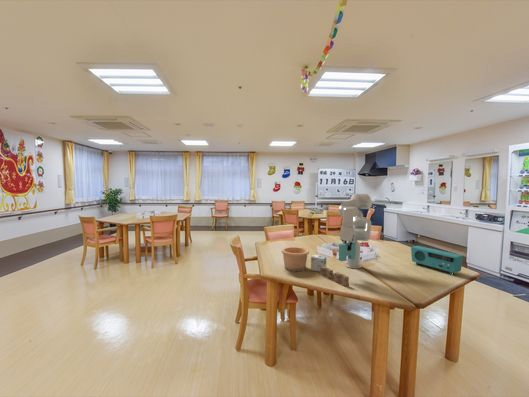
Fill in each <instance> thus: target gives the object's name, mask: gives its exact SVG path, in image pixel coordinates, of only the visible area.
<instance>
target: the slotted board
mask: <svg viewBox="0 0 529 397" xmlns="http://www.w3.org/2000/svg"><path fill="white" fill-rule="evenodd" d="M319 273H320V274H319V275H320V276H323V277H324V278H327V279H329V280H330V281H332V282H335V283H337V284H339V285H341V286H344V287H348V286H349V283H350V282H349V280H350V278H349V276H348V275H346V274H344V273H341V272H334V270H333V269H331V268H329V267H327V266H326V267H324V266H322V267H320V271H319Z"/></svg>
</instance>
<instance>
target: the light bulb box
mask: <svg viewBox="0 0 529 397" xmlns="http://www.w3.org/2000/svg"><path fill="white" fill-rule="evenodd" d="M322 266H324V267H327V256H324V255H316V254H312V255H311V256H310V270H311V271H316V272H320V267H322Z"/></svg>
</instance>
